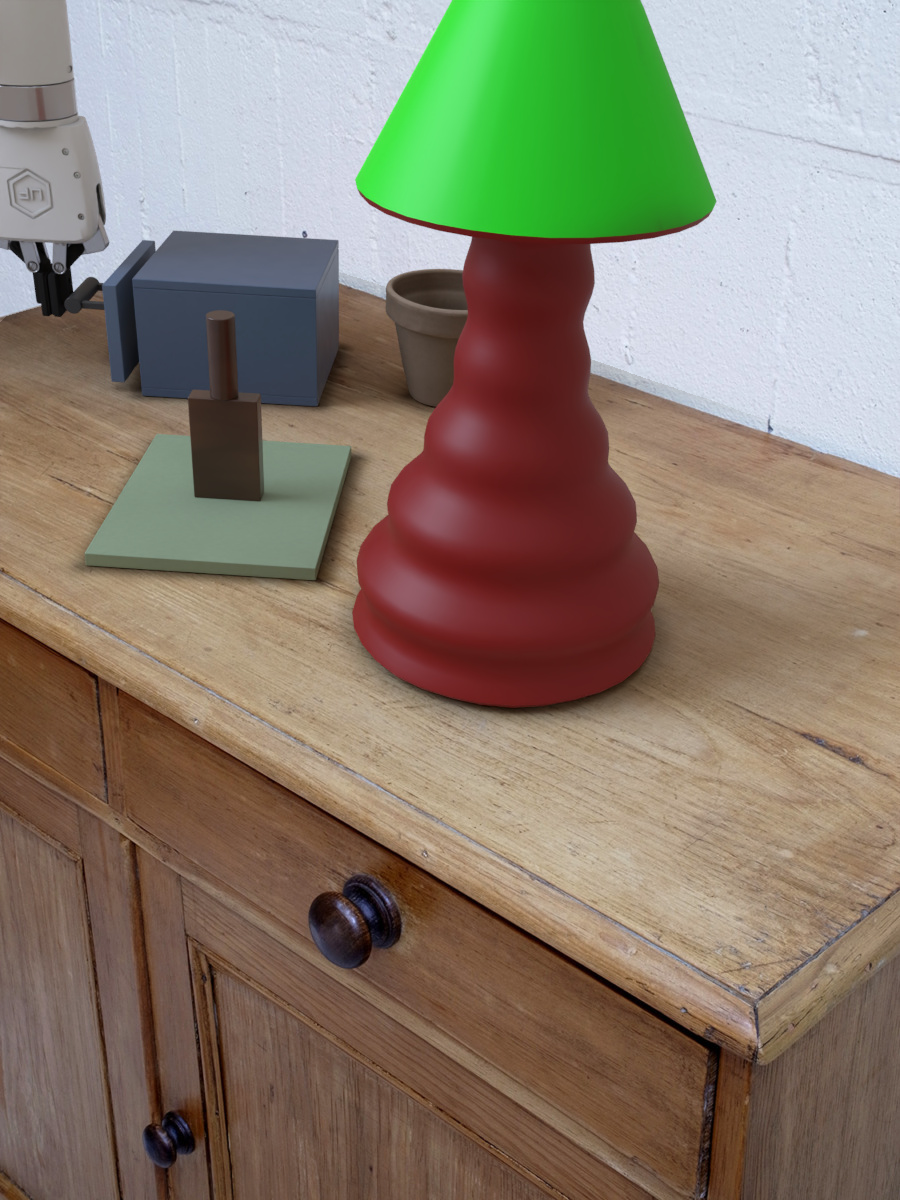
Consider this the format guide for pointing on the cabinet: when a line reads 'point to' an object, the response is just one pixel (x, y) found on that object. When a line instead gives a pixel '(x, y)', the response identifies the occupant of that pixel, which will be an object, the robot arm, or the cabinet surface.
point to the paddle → (225, 423)
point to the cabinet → (240, 313)
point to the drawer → (116, 309)
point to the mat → (224, 515)
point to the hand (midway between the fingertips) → (56, 311)
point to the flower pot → (428, 328)
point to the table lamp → (524, 350)
